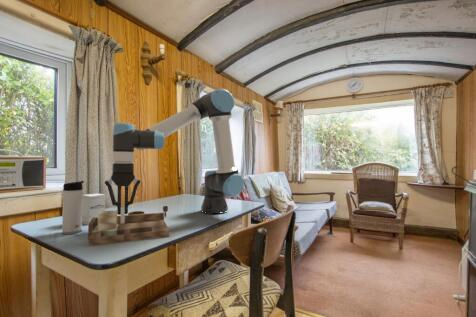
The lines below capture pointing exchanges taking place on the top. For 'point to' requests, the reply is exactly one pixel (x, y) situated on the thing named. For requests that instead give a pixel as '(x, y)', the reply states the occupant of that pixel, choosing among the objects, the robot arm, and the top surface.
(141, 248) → the top surface
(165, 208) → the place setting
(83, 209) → the supplement box
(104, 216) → the beech block
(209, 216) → the top surface
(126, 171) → the robot arm
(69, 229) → the travel mug
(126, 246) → the top surface
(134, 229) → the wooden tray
